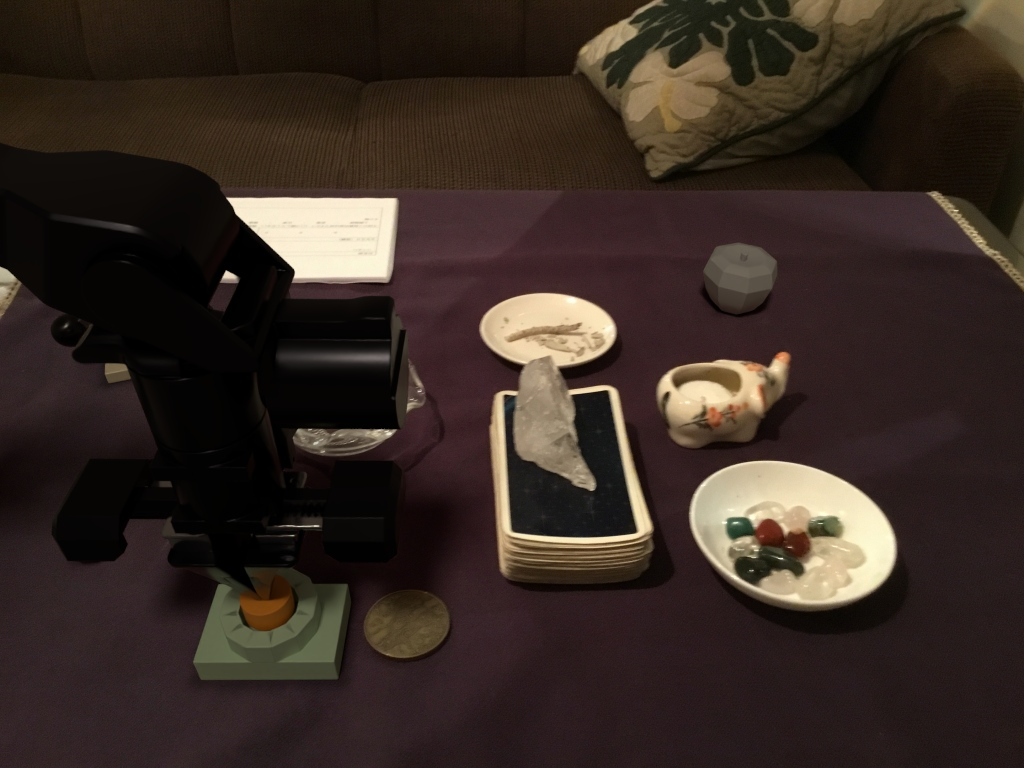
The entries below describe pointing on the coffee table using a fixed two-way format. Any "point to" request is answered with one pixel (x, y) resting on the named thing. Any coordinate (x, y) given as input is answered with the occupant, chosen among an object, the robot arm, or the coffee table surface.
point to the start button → (269, 607)
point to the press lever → (68, 330)
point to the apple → (739, 277)
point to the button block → (277, 636)
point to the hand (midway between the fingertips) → (265, 593)
